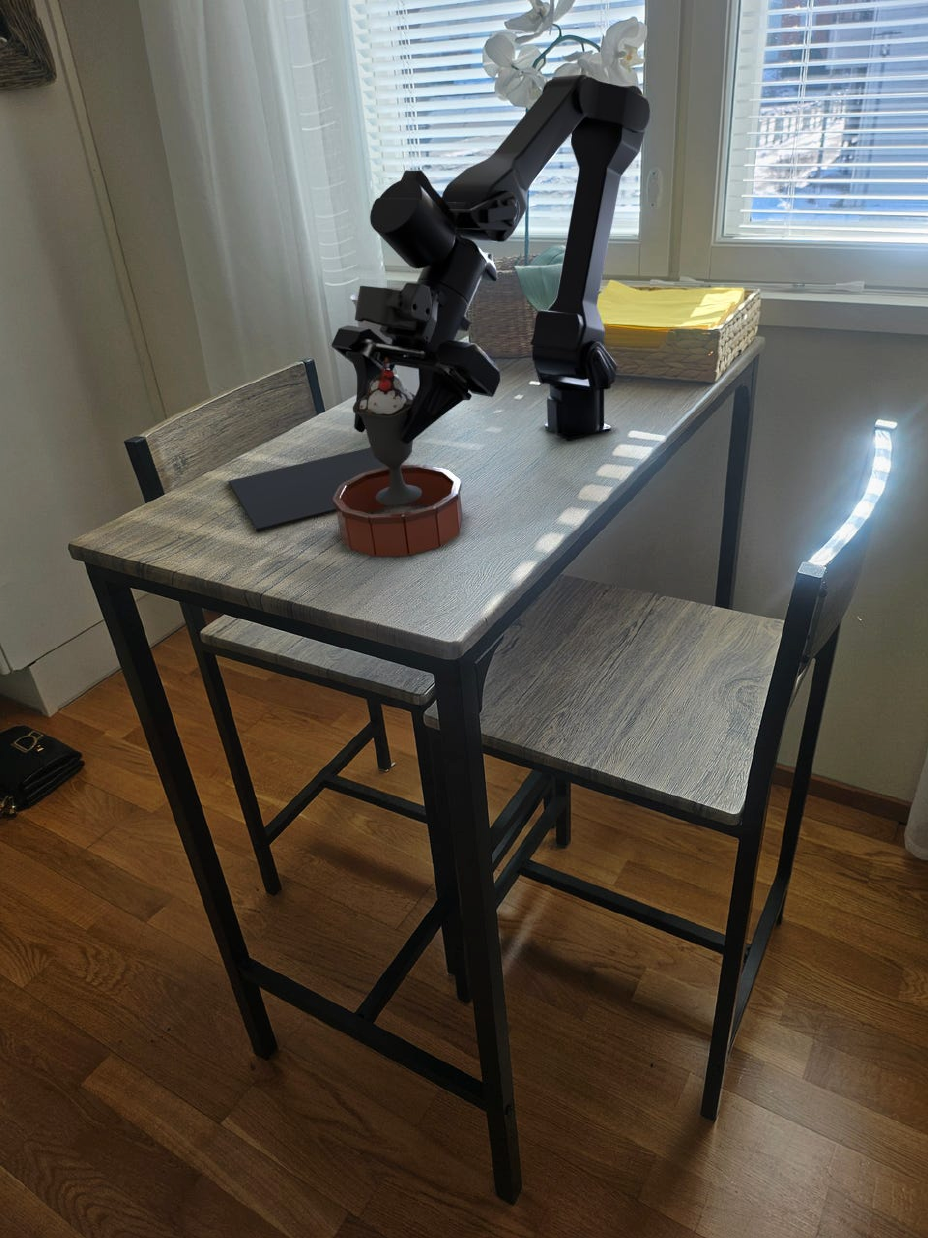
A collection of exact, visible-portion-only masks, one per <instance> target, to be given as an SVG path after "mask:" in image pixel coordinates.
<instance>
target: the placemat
mask: <svg viewBox="0 0 928 1238" xmlns="http://www.w3.org/2000/svg"><path fill="white" fill-rule="evenodd" d="M402 465H403V464H402ZM402 465H401V466H402ZM385 467H387V466H386V465H385V464H383V463H381V462H380V461H378V460H377V459H376V458H375V457H374V454H373V451H372V449H371V446H370V447H366V448H361V449H357V450H353V451H348V452H344V453H340V454H336V455H332V456H327V457H323V458H319V459H315V460H312V461H307V462H303V463H298V464H294V465H290V466H285V467H282V468H277V469H272V470H268V471H264V472H260V473H256V474H251V475H247V476H243V477H238V478H233V479H231V480H228V485H229V486H230V488H231V490H232V492H233V494H234V495H235V497H236V498H237V500H238V501H239V504H240V505H241V507H242V509H243V510H244V512H245V513H246V515H247V517H248V518H249V520H250V522H251V524H252V525H253V527H254V529H255V531H256V532H257V533H260V532H263V531H267V530H270V529H271V530H272V529H275V528H279V527H282V526H286V525H290V524H294V523H299V522H303V521H306V520H310V519H314V518H318V517H321V516H326V515H329V514H334V513H337V511H336V508H335V506H334V505H333V497H334V495H335V493H336V491H337V489H338V488H339V486H340V485H341V484H343V483H345V482H346V481H348V480H350V479H352V478H354V477H355V476H357V475H359V474H362V473H365V472H369V471H373V470H377V469H381V468H385Z"/></svg>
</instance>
